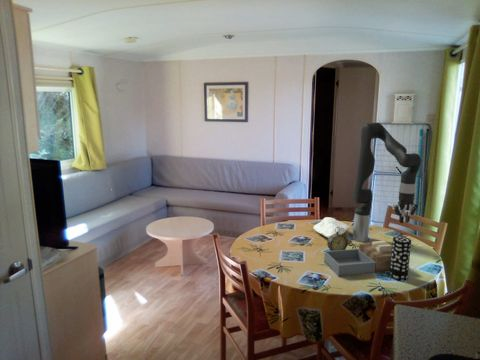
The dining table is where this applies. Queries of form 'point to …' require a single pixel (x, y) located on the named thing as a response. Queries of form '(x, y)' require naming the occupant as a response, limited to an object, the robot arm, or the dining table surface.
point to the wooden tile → (381, 246)
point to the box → (349, 262)
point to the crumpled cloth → (330, 227)
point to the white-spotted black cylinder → (400, 258)
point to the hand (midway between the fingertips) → (404, 222)
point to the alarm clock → (337, 242)
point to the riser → (377, 257)
